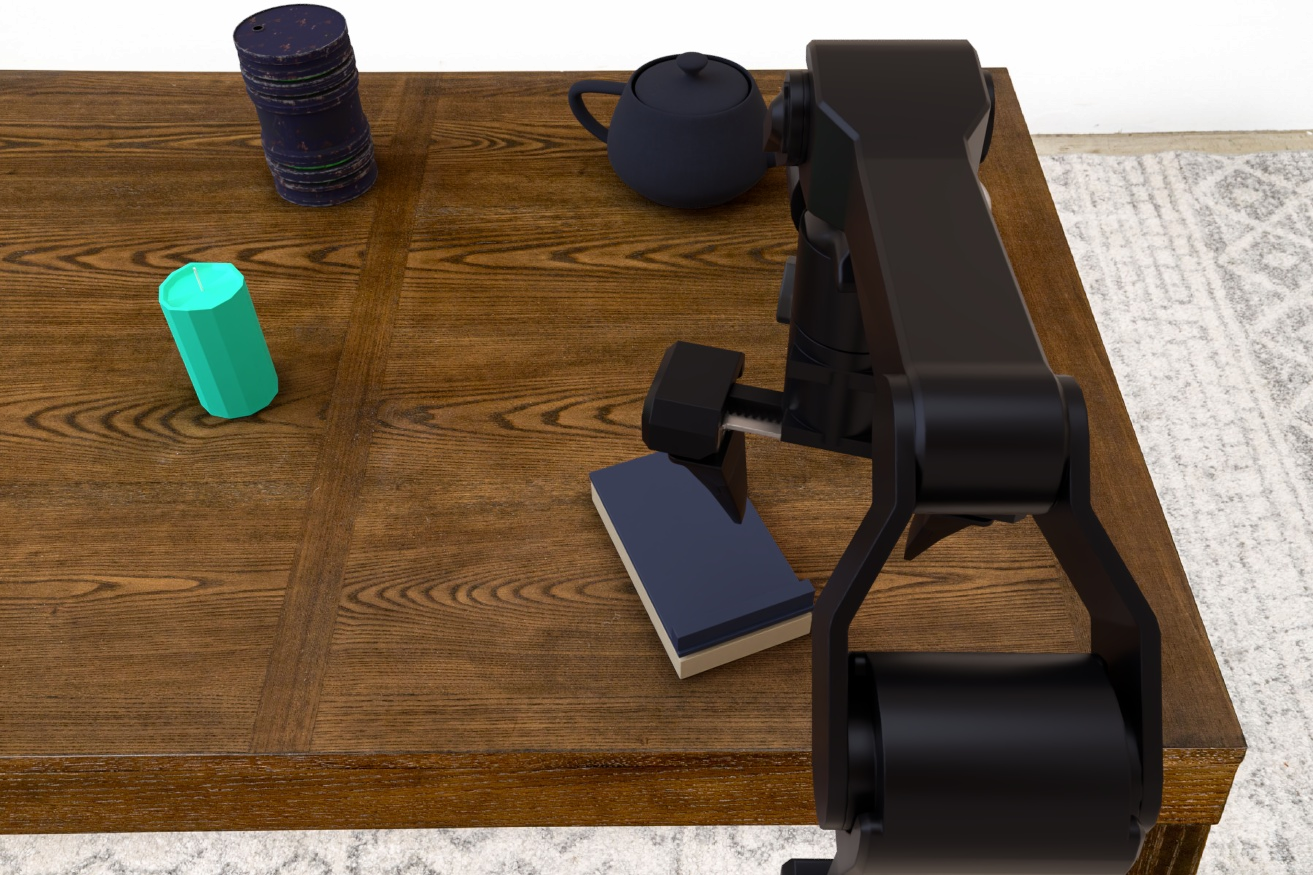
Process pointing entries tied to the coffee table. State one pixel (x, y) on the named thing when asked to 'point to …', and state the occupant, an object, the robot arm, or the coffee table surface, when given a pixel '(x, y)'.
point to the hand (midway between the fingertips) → (822, 535)
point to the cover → (698, 555)
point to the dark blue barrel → (307, 103)
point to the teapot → (683, 129)
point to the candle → (219, 338)
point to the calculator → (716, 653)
